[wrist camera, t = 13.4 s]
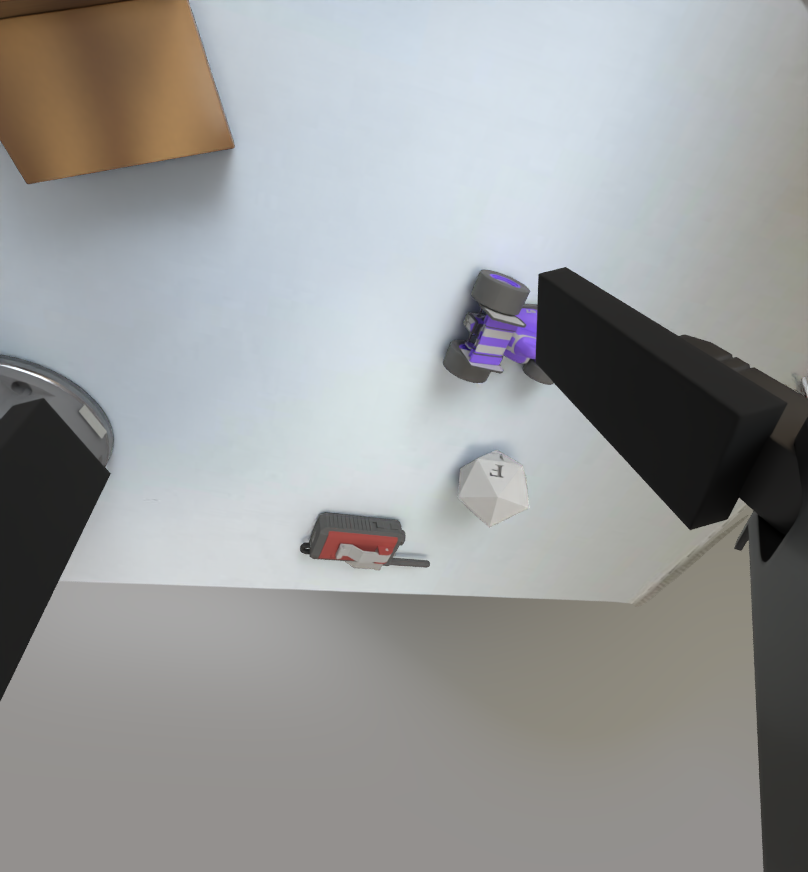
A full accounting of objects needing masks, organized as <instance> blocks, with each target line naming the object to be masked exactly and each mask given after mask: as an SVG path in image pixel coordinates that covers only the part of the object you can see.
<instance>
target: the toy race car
mask: <svg viewBox="0 0 808 872" xmlns="http://www.w3.org/2000/svg"><path fill="white" fill-rule="evenodd" d="M529 292H530V290H529V289H528V288H527V287H526V286H525V285H524V284H522V283H520V282H519V281H517V280H515V279H513V278H511V277H508V276H506V275H503V274H501V273H498V272H494V271H490V270H481V271H480V273H479V275H478V278H477V280H476V283H475V285H474V287H473V290H472V292H471V296H472V297H473V298H474V299H475V300H476V301H477V302H479V306H480V307H481V310H480V312H479V314H477V313H470V312H468V314H466V317H465V319H464V320H465V321H463V324H464V325H465V327H466V328H467V329H468V331H469V332H470V335H469V338H468V341H464V340H454V341H452V342H451V343H450V346H449V348H448V350H447V353H446V355H445V358H444V360H443V365H444V367H445V368H446V369H447V370H448V371H449V372H450V373H452V374H453V375H455V376H457V377H458V378H461V379H463V380H466V381H469V382H473V383H483V382H485V381H486V380H487V378H488V376H489V374H490V372H491V371H492V372H496V373H502V372H503V369H502V367H501V366H500V365H499V364H500V362H501V360H502V358H503V356H502V355H505V356H506V357H508V358H509V359H511V360H513V361H515V362H518V363H523V364H525V365H524V367H523V371H524V373H525V374H526V375H527V376H529V377H530V378H532V379H534V380H535V381H538V382H540V383H543V384H548V385H551V384H553V383H554V382H553V381H552V380H551V379H550V378H549V377H548V376H547V375H546V374H545V373H544V372H543V370H542V369H541V368H540V367H539V366H538V365H537V364H536V363H535V357H536V331H537V305H534V304H524V303H525V301H526V299H527V297H528V295H529ZM483 310H484V311H485V312H486V314H487V315H483V314H481V313H482V311H483ZM472 334H474V335H476V338H477V339H476V342H475V343H472V342H469V341H470V338H471V336H472Z"/></svg>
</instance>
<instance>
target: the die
mask: <svg viewBox="0 0 808 872" xmlns="http://www.w3.org/2000/svg"><path fill="white" fill-rule="evenodd" d="M458 498H459V499H460V500H461V501H462V503H463V504H464V505H465V506H466V507H467V508H468V509H469V510H470V511H471V512H473V513H474V514H475V515H476V516H477V517H478V518H479V519H480V520H482V521H483V522H484V523H485V524H486V525H487V526H488V527H489V528H490V527H492V526H494V525H496V524H498V523H500V522H502V521H504V520H506V519H508V518H510V517H512V516H514V515H516V514H518V513H520V512H523V511H525V510H527V509H529V499H528V489H527V480H526V475H525V472H524V469H523V466H522V464H520V463H518V462H516V461H515V460H513V459H511V458H510V457H508V456H506V455H505V454H503V453H501V452H500V451H498V450H495V451H493V452H491V453H488V454H486V455H484V456H482V457H480V458H477V459H476V460H474V461H472V462H470V463H469V464H467V465H465V466H464V467H462V468H460V476H459V488H458Z"/></svg>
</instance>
